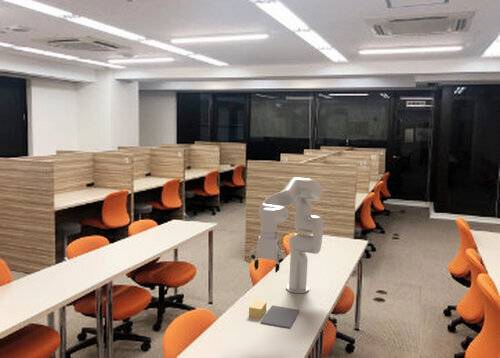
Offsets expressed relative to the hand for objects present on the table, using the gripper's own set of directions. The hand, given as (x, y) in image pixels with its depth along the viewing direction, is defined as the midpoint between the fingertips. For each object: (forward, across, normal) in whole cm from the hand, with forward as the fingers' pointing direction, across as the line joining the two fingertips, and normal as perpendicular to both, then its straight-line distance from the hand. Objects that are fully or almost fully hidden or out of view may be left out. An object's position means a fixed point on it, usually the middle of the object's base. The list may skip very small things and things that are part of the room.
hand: (266, 270), depth 212 cm
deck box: (+24, +4, -4) cm, 24 cm away
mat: (+23, -7, -4) cm, 24 cm away
